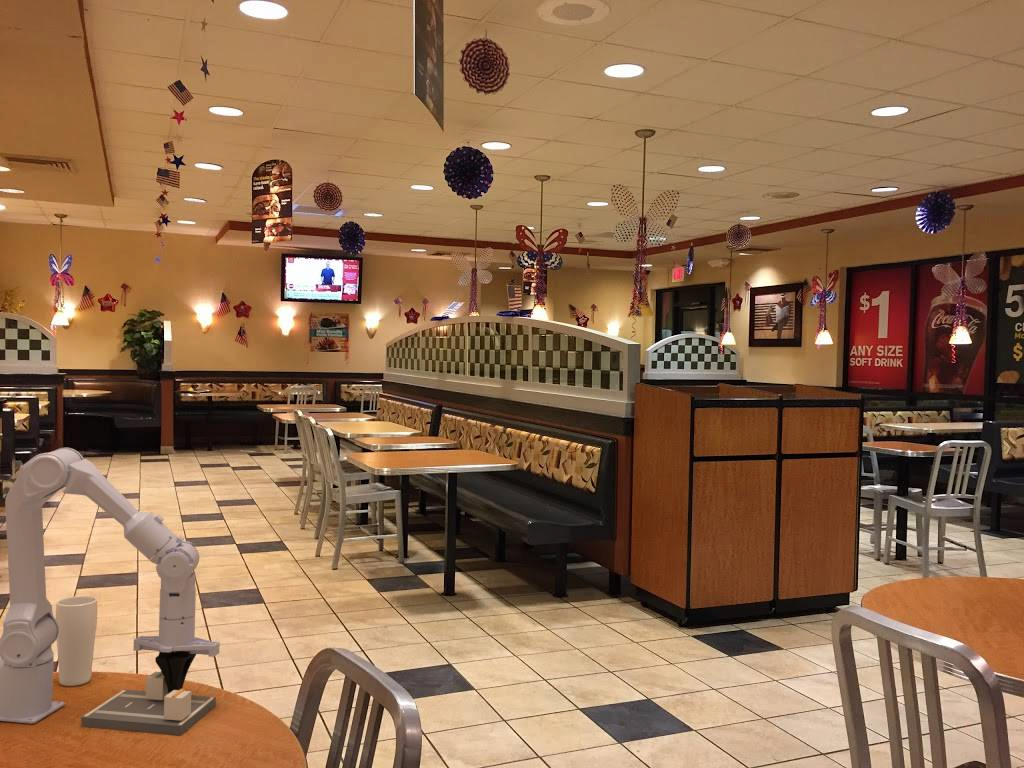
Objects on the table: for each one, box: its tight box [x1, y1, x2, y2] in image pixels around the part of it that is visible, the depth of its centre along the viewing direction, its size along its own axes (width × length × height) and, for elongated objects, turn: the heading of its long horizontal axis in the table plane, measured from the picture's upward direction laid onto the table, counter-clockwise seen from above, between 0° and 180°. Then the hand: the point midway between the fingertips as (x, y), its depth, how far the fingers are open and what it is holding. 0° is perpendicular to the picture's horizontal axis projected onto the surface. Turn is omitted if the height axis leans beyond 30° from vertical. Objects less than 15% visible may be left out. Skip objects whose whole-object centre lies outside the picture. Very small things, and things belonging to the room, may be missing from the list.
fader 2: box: [164, 688, 192, 721], centre depth 138 cm, size 3×3×4 cm
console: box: [80, 689, 217, 736], centre depth 142 cm, size 17×12×2 cm
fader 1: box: [145, 671, 168, 700], centre depth 146 cm, size 3×3×4 cm
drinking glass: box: [55, 595, 98, 687], centre depth 156 cm, size 7×7×15 cm
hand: (175, 694), depth 146 cm, fingers closed
